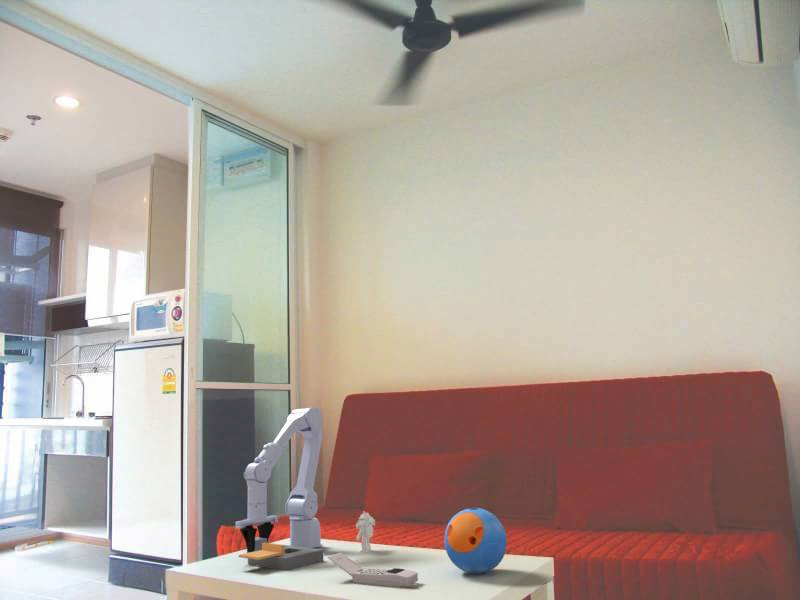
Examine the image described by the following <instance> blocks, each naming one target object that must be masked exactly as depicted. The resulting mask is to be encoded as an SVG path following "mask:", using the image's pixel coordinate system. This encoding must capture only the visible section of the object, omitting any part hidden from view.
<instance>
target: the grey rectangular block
mask: <svg viewBox="0 0 800 600" xmlns="http://www.w3.org/2000/svg"><path fill="white" fill-rule="evenodd" d="M262 543H267V538H259V537H255V548H254V551H259V550H262ZM246 553H250V552H248V550H247V549H246Z"/></svg>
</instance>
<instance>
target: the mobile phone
mask: <svg viewBox="0 0 800 600" xmlns="http://www.w3.org/2000/svg"><path fill="white" fill-rule="evenodd" d="M327 559H329V561H331V562H332V563H333V564H335V565H337V566H338V567H339V568H340V569H342V570H343V571H344V572H345V573H347V574H348V575H349V576H350V577H352V581H353V584H361V585H368V586H369V585H371V586H381V587H392V588H403V587H404V588H418V587H419V584H418V583H417V582H418V580H419V575H418V574H419V573H418V572H417V571H414V570H412V569H406V568H397V567H394V568H391V569H385V568H381V569H380V568H362V567H361V566H360V565H359V564H357V563H356V562H355V561H354V560H352V559H351V558H349V557H348V556H347V555H346V554H345V553H343V552H341V551H340V552H339V553H335V554H331V555H329V556H327Z"/></svg>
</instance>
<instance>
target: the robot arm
mask: <svg viewBox="0 0 800 600" xmlns="http://www.w3.org/2000/svg"><path fill="white" fill-rule="evenodd" d="M286 419H287V420H286V422H285V424H284V425H283V427H282V428H281V430H280V431H279V433H278V434H277V436H276V437H275V439H274V440H273V442H268V443H266V444H264V445H263V447H262V448H263V449H262V450H261V452H260V453H259V455H258V456H257V457H255V458H254V461H253V462H251V463H248V465H246V467H245V469H244V472H243V478H244V479H245V481H246V487H247V518H245V519H242V520H241V519H240V520H238V521H235V529H238V530H240V533H241V534H242V537H243V539H244V542H245V545H246V551H247V550H248V552H254V548H255V538H256V535H257V532H258V536H259V538H267V543H269V540H270V536H271V533H272V531H273V529H274V528H275V525H274V523H278V521H279V516H278V515H274V514H273V515H268V480H269V479H271V476H272V470H273V468H274V466H275V465H276V464H277V462H278V461H279V460H280V458H281V456H282V455H283V448H284V447H285V446H286V444H287V443H288V442H289V440H291V439H292V437H294V435H296V432H299V433H300V434H302V436H303V437H304V445H303V450H302V454H301V461H300V464H299V470H298V474H297V475H298V476H297V480H296V485H295V487H294V488H293V489H292V490H291V491H290V493H289V496H288V499H287V501H286V503H285V506H284V507H285V509H284V510H285V513H286V515H287V516H288V519H289V542H290V544H289V546H297V547H305V548H314V549H317V548H319V547H323V544H321V540H322V539H321V538H322V537H321V524H320V523H321V522H320V521H319V519H318V518H317V517H315V516H316V514H317V513H318V509H319V507H318V494H317V493H316V491H315V490H314V486H315V479H316V474H317V470H318V469H317V468H318V463H319V459H320V458H319V457H320V451H321V446H322V442H323V441H322V440H323V436H324V435H323V422H324V415H323V414H322V412H321V411H320V409H319V408H317V407H315V406H312V407H306V408H295V409H293V410H292V411H291V413H290V414H289V415H288V416H287V418H286ZM256 527H257V528H256Z"/></svg>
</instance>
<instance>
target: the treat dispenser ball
mask: <svg viewBox="0 0 800 600" xmlns="http://www.w3.org/2000/svg"><path fill="white" fill-rule="evenodd" d="M507 540H508V539H507V534H506V531H505V527H504V526H503V524H502V523H501V521H500V520H499V518H498V517H497V516H496V515H495V514H493V513H491V512H490V511H488V510H486V509H483V508H481V507H479V508H478V507H471V508H466V509H463V510H461V511H459V512H457V513H456V514H454V515H453V516H452V517H451V519H450V520H449V522H448V524H447V525H446V528H445V532H444V541H443V542H444V547H445V551H446V554H447V556H448V559H449V560H450V561H451V563H452V564H453V565H454V566H455V567H457V568H458V570H461V571H463V572H464V573H468V574H471V575H483V574H486V573H490V572H491V571H492V570H494V569H495V568H497V567H498V566H499V564H500V563H501V562H502V561H503V559H504V557H505V555H506V550H507V542H508V541H507Z"/></svg>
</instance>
